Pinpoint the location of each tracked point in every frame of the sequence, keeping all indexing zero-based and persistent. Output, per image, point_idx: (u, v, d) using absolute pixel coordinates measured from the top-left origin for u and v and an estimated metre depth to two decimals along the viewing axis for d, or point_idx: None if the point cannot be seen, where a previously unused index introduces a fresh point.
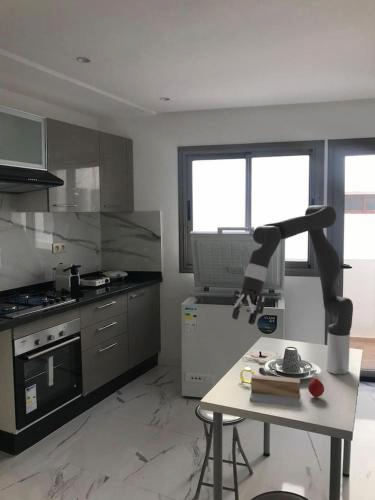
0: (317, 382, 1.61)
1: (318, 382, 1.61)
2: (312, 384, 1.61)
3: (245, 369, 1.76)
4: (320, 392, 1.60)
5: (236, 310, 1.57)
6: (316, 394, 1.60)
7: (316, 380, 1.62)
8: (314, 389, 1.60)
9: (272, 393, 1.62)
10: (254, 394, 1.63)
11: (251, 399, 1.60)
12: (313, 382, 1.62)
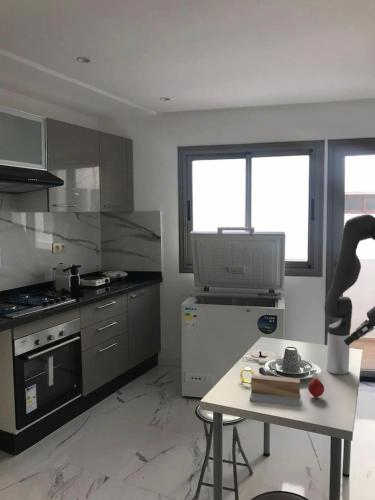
0: (317, 382, 1.61)
1: (318, 382, 1.61)
2: (312, 384, 1.61)
3: (245, 369, 1.76)
4: (320, 392, 1.60)
5: None
6: (316, 394, 1.60)
7: (316, 380, 1.62)
8: (314, 389, 1.60)
9: (272, 393, 1.62)
10: (254, 394, 1.63)
11: (251, 399, 1.60)
12: (313, 382, 1.62)
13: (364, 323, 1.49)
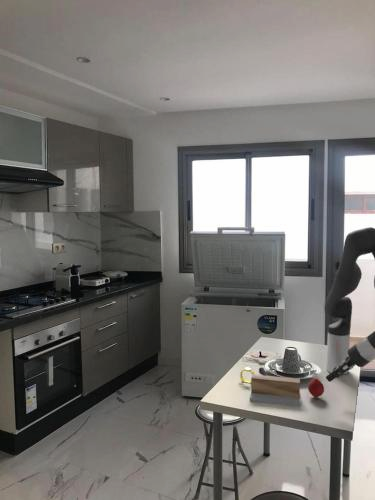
0: (317, 382, 1.61)
1: (318, 382, 1.61)
2: (312, 384, 1.61)
3: (245, 369, 1.76)
4: (320, 392, 1.60)
5: None
6: (316, 394, 1.60)
7: (316, 380, 1.62)
8: (314, 389, 1.60)
9: (272, 393, 1.62)
10: (254, 394, 1.63)
11: (251, 399, 1.60)
12: (313, 382, 1.62)
13: (345, 360, 1.54)
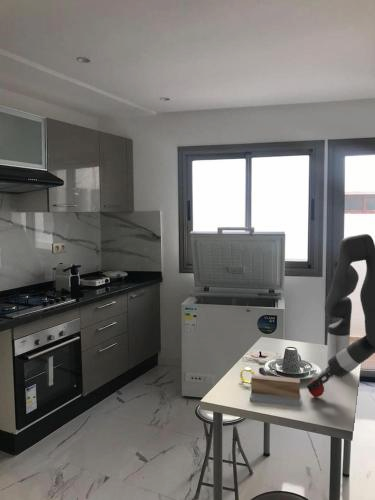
0: None
1: (318, 382, 1.61)
2: None
3: (245, 369, 1.76)
4: (320, 392, 1.60)
5: None
6: (316, 394, 1.60)
7: None
8: (314, 389, 1.60)
9: (272, 393, 1.62)
10: (254, 394, 1.63)
11: (251, 399, 1.60)
12: None
13: (325, 371, 1.58)
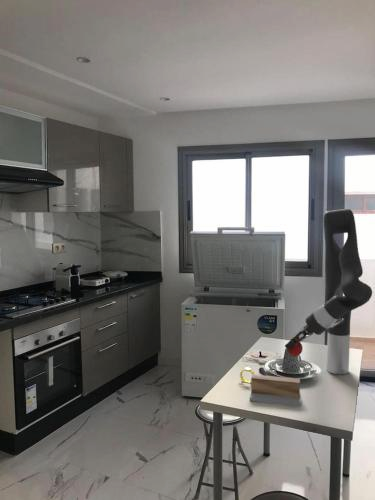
0: None
1: None
2: None
3: (245, 369, 1.76)
4: (298, 351, 1.59)
5: None
6: (294, 353, 1.59)
7: None
8: (293, 348, 1.59)
9: (272, 393, 1.62)
10: (254, 394, 1.63)
11: (251, 399, 1.60)
12: None
13: (303, 329, 1.57)
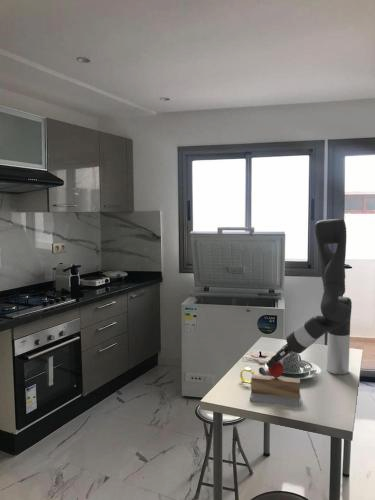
0: None
1: None
2: None
3: (245, 369, 1.76)
4: (279, 372, 1.61)
5: None
6: (276, 374, 1.61)
7: None
8: (273, 370, 1.60)
9: (272, 393, 1.62)
10: (254, 394, 1.63)
11: (251, 399, 1.60)
12: None
13: (284, 347, 1.58)
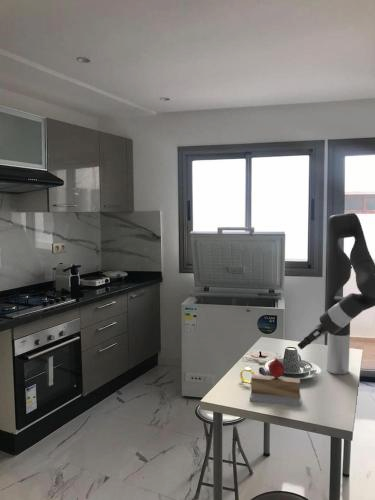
0: (277, 362, 1.61)
1: (278, 362, 1.62)
2: (272, 364, 1.62)
3: (245, 369, 1.76)
4: (280, 372, 1.61)
5: None
6: (276, 374, 1.61)
7: (276, 361, 1.62)
8: (274, 369, 1.61)
9: (272, 393, 1.62)
10: (254, 394, 1.63)
11: (251, 399, 1.60)
12: (273, 363, 1.62)
13: (317, 327, 1.50)
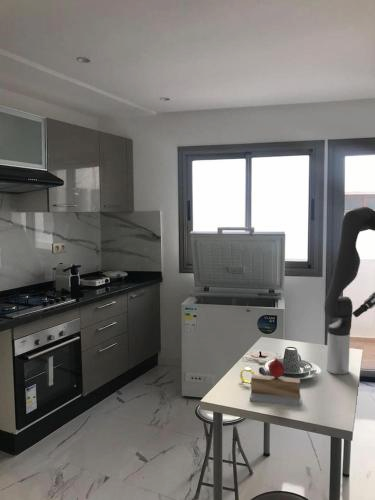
0: (277, 362, 1.61)
1: (278, 362, 1.62)
2: (272, 364, 1.62)
3: (245, 369, 1.76)
4: (280, 372, 1.61)
5: None
6: (276, 374, 1.61)
7: (276, 361, 1.62)
8: (274, 369, 1.61)
9: (272, 393, 1.62)
10: (254, 394, 1.63)
11: (251, 399, 1.60)
12: (273, 363, 1.62)
13: (372, 295, 1.51)
